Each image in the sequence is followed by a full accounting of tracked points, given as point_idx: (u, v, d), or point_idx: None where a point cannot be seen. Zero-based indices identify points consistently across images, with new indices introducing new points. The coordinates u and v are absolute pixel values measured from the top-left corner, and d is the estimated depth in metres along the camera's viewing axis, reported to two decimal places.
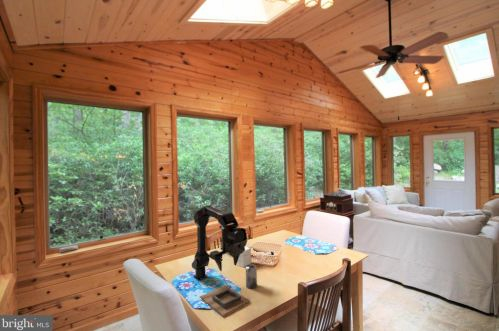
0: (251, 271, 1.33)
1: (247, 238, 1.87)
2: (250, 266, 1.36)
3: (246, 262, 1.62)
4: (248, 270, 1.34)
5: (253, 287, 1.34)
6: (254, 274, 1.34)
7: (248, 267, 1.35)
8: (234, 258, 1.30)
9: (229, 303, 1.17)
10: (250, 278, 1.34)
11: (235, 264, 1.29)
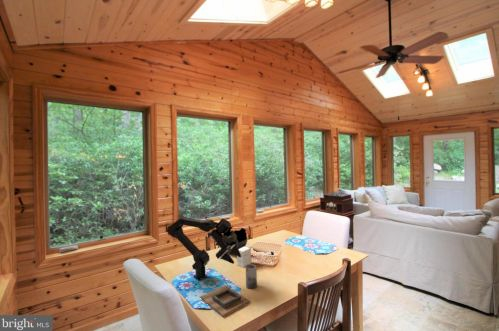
0: (251, 271, 1.33)
1: (247, 238, 1.87)
2: (250, 266, 1.36)
3: (246, 262, 1.62)
4: (248, 270, 1.34)
5: (253, 287, 1.34)
6: (254, 274, 1.34)
7: (248, 267, 1.35)
8: (236, 252, 1.45)
9: (229, 303, 1.17)
10: (250, 278, 1.34)
11: (240, 255, 1.43)
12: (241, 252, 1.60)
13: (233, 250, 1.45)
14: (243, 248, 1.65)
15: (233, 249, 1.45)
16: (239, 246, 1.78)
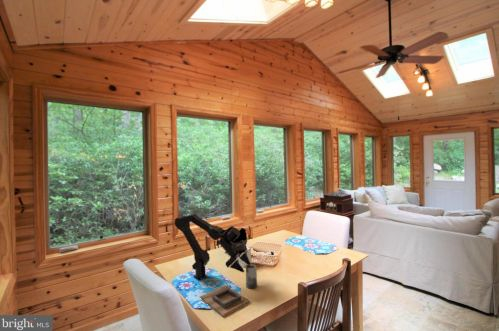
0: (251, 271, 1.33)
1: (247, 238, 1.87)
2: (250, 266, 1.36)
3: None
4: (248, 270, 1.34)
5: (253, 287, 1.34)
6: (254, 274, 1.34)
7: (248, 267, 1.35)
8: (245, 260, 1.43)
9: (229, 303, 1.17)
10: (250, 278, 1.34)
11: (249, 263, 1.41)
12: None
13: (242, 258, 1.44)
14: None
15: (242, 257, 1.44)
16: None
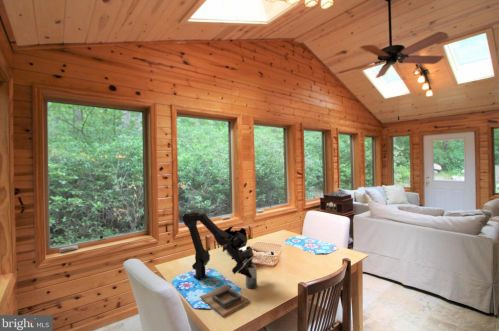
0: (251, 271, 1.33)
1: (247, 238, 1.87)
2: (250, 266, 1.36)
3: None
4: (248, 270, 1.34)
5: (253, 287, 1.34)
6: (254, 274, 1.34)
7: (248, 267, 1.35)
8: None
9: (229, 303, 1.17)
10: (250, 278, 1.34)
11: None
12: None
13: None
14: (243, 248, 1.65)
15: (248, 264, 1.41)
16: None
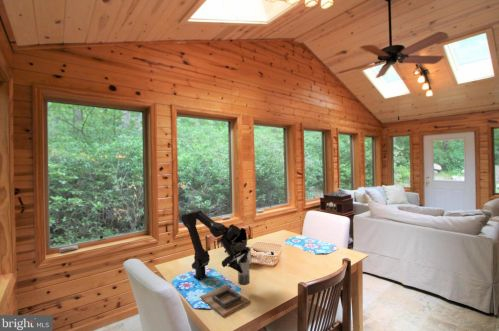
0: (242, 266, 1.27)
1: (247, 238, 1.87)
2: (242, 261, 1.29)
3: None
4: (239, 265, 1.27)
5: (244, 283, 1.27)
6: (245, 270, 1.27)
7: (240, 262, 1.29)
8: None
9: (229, 303, 1.17)
10: (241, 273, 1.27)
11: None
12: None
13: None
14: None
15: None
16: None
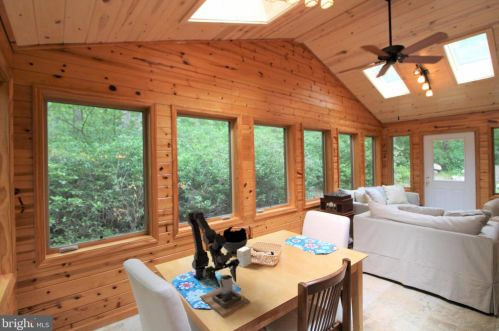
0: (222, 283, 1.19)
1: (247, 238, 1.87)
2: (225, 277, 1.22)
3: (246, 262, 1.62)
4: (220, 281, 1.20)
5: (224, 301, 1.19)
6: (225, 287, 1.19)
7: (222, 277, 1.21)
8: (232, 275, 1.25)
9: (229, 303, 1.17)
10: (221, 290, 1.20)
11: (235, 280, 1.23)
12: (241, 252, 1.60)
13: (231, 271, 1.27)
14: (243, 248, 1.65)
15: (231, 270, 1.27)
16: (239, 246, 1.78)
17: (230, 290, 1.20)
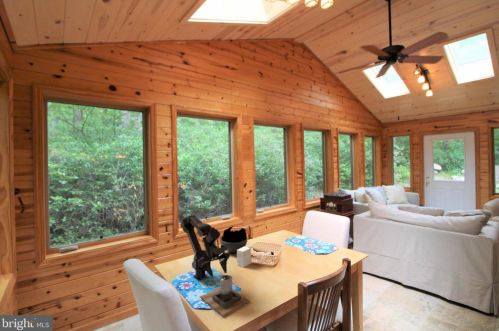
0: (222, 283, 1.19)
1: (247, 238, 1.87)
2: (225, 277, 1.21)
3: (246, 262, 1.62)
4: (220, 281, 1.20)
5: (224, 301, 1.19)
6: (225, 287, 1.19)
7: (222, 278, 1.21)
8: (223, 267, 1.35)
9: (229, 303, 1.17)
10: (221, 290, 1.19)
11: (225, 271, 1.33)
12: (241, 252, 1.60)
13: (221, 263, 1.36)
14: (243, 248, 1.65)
15: (222, 262, 1.36)
16: (239, 246, 1.78)
17: (230, 290, 1.20)
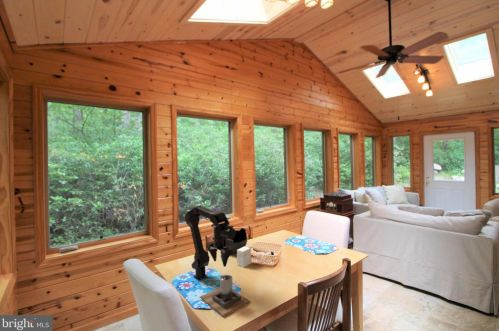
0: (222, 283, 1.19)
1: (247, 238, 1.87)
2: (225, 277, 1.22)
3: (246, 262, 1.62)
4: (220, 281, 1.20)
5: (224, 301, 1.19)
6: (225, 287, 1.19)
7: (222, 278, 1.21)
8: (214, 255, 1.39)
9: (229, 303, 1.17)
10: (221, 290, 1.20)
11: None
12: (241, 252, 1.60)
13: (212, 252, 1.39)
14: (243, 248, 1.65)
15: (213, 251, 1.39)
16: (239, 246, 1.78)
17: (230, 290, 1.20)
